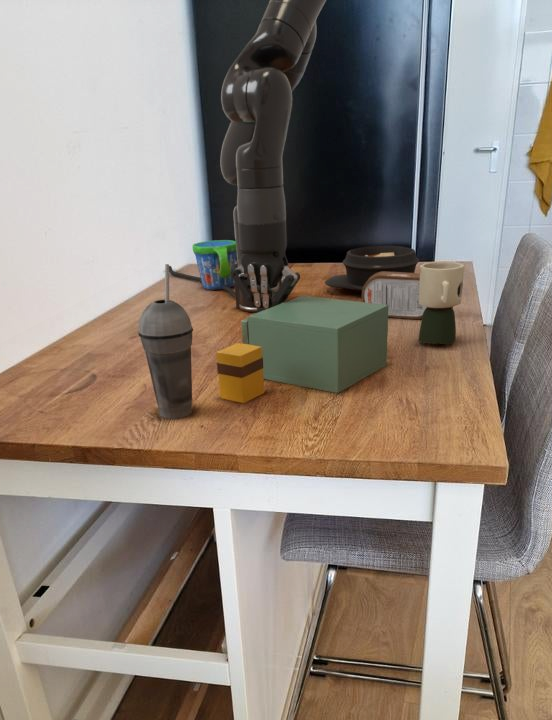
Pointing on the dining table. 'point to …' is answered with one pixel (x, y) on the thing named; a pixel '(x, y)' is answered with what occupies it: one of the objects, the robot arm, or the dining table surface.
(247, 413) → the dining table surface
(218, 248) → the snack cup
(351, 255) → the casserole
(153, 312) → the beverage cup
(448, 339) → the character mug
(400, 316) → the tin
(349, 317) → the cabinet
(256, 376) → the snack box
